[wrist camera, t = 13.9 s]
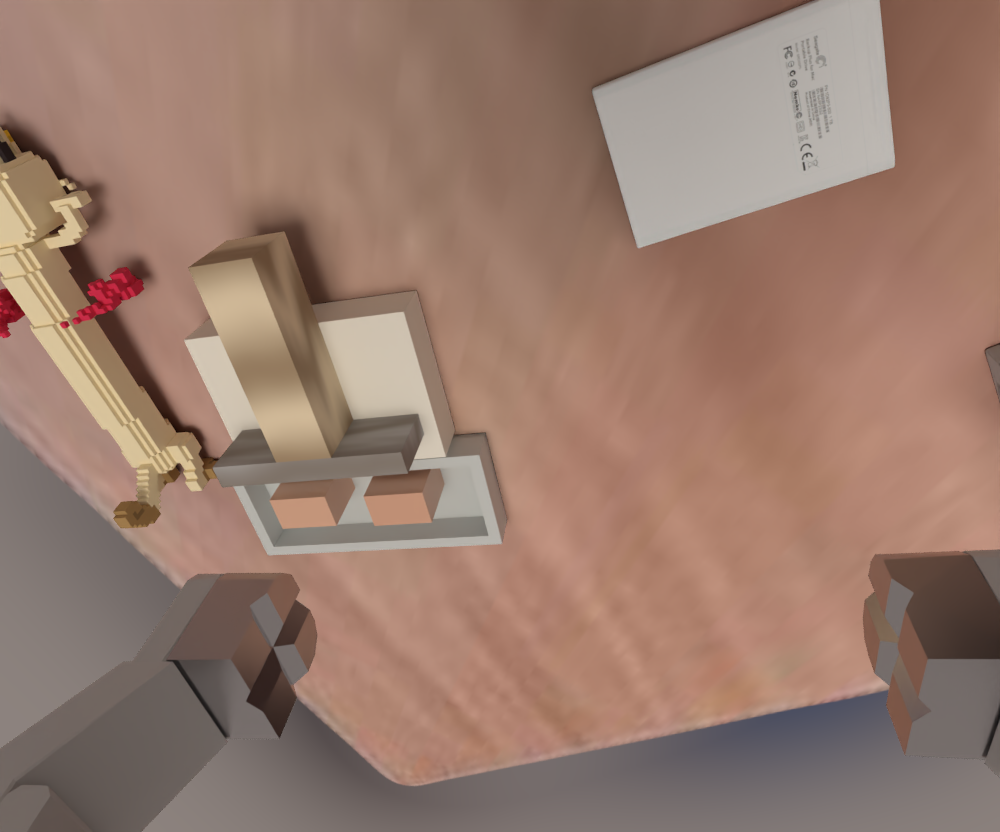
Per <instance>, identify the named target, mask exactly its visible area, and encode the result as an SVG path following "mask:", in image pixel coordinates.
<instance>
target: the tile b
mask: <svg viewBox="0 0 1000 832" xmlns="http://www.w3.org/2000/svg"><path fill="white" fill-rule="evenodd" d="M444 485H445V484H444V480H443V477H442V474H441V470H440V468H437V469H423V470H410V471H409V472H408V474H396V475H382V476H373V477H372V479H371V481H370V484H369V486H368V488H367V490H366V492H365V494H364V496H363V497H364V500H365V502H366V505H367V508H368V510H369V513H370V516H371V518H372V521H373V523H374V526H382V525H399V524H417V523H432V521H433V518H434V515H435V512H436V509H437V506H438V503H439V500H440V497H441V494H442V491H443V488H444Z"/></svg>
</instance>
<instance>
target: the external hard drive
mask: <svg viewBox="0 0 1000 832" xmlns="http://www.w3.org/2000/svg"><path fill="white" fill-rule="evenodd" d="M592 94H593V97H594V101H595V104H596V108H597V111H598V115H599V118H600V121H601V125H602V128H603V132H604V135H605V138H606V142H607V145H608V149H609V152H610V156H611V159H612V162H613V166H614V169H615V173H616V176H617V180H618V183H619V187H620V190H621V193H622V197H623V200H624V204H625V207H626V211H627V214H628V217H629V221H630V225H631V228H632V231H633V235H634V238H635V241H636V245H637V248H641V247H644V246H647V245H651V244H653V243H657V242H660V241H663V240H667V239H670V238H673V237H676V236H679V235H682V234H685V233H688V232H691V231H694V230H698V229H701V228H704V227H707V226H710V225H713V224H717V223H720V222H723V221H726V220H729V219H732V218H735V217H739V216H742V215H745V214H748V213H751V212H754V211H758V210H761V209H764V208H767V207H770V206H773V205H777V204H780V203H783V202H786V201H789V200H792V199H795V198H799V197H802V196H805V195H808V194H811V193H814V192H818V191H821V190H824V189H827V188H830V187H834V186H837V185H840V184H843V183H846V182H849V181H852V180H855V179H858V178H862V177H865V176H868V175H871V174H874V173H878V172H881V171H884V170H887V169H891V168H893V167H894V166H895V154H894V145H893V134H892V125H891V115H890V105H889V95H888V84H887V73H886V62H885V51H884V40H883V31H882V20H881V10H880V0H814V1H811V2H809V3H806V4H804V5H801V6H799V7H796V8H793V9H791V10H788V11H786V12H783V13H781V14H779V15H776V16H773V17H771V18H768V19H766V20H763V21H760V22H758V23H755V24H753V25H750V26H748V27H745V28H743V29H740V30H738V31H735V32H733V33H730V34H728V35H725V36H723V37H720V38H718V39H715V40H713V41H710V42H708V43H705V44H703V45H700V46H698V47H695V48H693V49H690V50H687V51H685V52H682V53H680V54H677V55H675V56H672V57H670V58H667V59H665V60H662V61H660V62H657V63H655V64H652V65H650V66H647V67H645V68H642V69H640V70H637V71H635V72H632V73H630V74H627V75H625V76H622V77H620V78H617V79H615V80H612V81H610V82H607V83H605V84H602V85H600V86H597V87H594V88H593V89H592Z"/></svg>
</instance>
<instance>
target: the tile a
mask: <svg viewBox="0 0 1000 832" xmlns="http://www.w3.org/2000/svg"><path fill="white" fill-rule="evenodd" d="M354 490H355V485H354V483H353V480H352V478H342V479H328V480H315V481H301V482H288V483H280V485H279V486H278V488H277V489H276V491H275V492H274V494H273V496H272V497H271V499H270V500H269V501H270V503H271V505H272V507H273V509H274V512H275V514H276V516H277V518H278V520H279V522H280V524H281V526H282V528H283V529H289V528H306V527H324V526H337V524H338V522H339V520H340V518H341V516H342V514H343V512H344V510H345V508H346V506H347V504H348V502H349V500H350V498H351V496H352V494H353V492H354Z"/></svg>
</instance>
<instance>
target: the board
mask: <svg viewBox="0 0 1000 832" xmlns="http://www.w3.org/2000/svg"><path fill="white" fill-rule="evenodd" d="M312 308H313V311H314V313H315V316H316V319H317V322H318V324H319V327H320V330H321V333H322V335H323V338H324V341H325V344H326V346H327V349H328V352H329V354H330V357H331V360H332V363H333V365H334V368H335V371H336V374H337V376H338V379H339V382H340V385H341V387H342V390H343V393H344V396H345V398H346V401H347V404H348V407H349V409H350V412H351V415H352V417H353V420H356V419H367V418H377V417H388V416H398V415H409V414H418V415H419V418H420V422H421V425H422V428H423V432H424V436H423V438H422V441H421V443H420V445H419V448H418V450H417V453H416V455H415V458H414V459H426V458H439V457H446V455H447V452H448V449H449V447H450V444H451V441H452V438H453V435H454V432H455V428H454V424H453V421H452V417H451V413H450V410H449V406H448V403H447V399H446V395H445V392H444V388H443V384H442V381H441V377H440V374H439V370H438V366H437V363H436V359H435V355H434V352H433V348H432V344H431V341H430V337H429V334H428V330H427V326H426V323H425V319H424V315H423V312H422V308H421V305H420V301H419V297H418V294H417V291H409V292H402V293H395V294H387V295H380V296H373V297H365V298H358V299H351V300H343V301H336V302H329V303H322V304H314V305H312ZM184 341H185V344H186V346H187V348H188V350H189V352H190V354H191V356H192V358H193V360H194V362H195V364H196V366H197V368H198V370H199V373H200V375H201V377H202V379H203V381H204V383H205V385H206V387H207V389H208V391H209V393H210V395H211V397H212V399H213V401H214V404H215V406H216V408H217V410H218V412H219V414H220V416H221V418H222V420H223V422H224V424H225V426H226V428H227V430H228V433H229V435H230V437H231V439H232V441H234V440H235V439H236V438H237V436H238V435H239V434H240V433H241V431H242V430H250V429H261V428H260V426H259V423H258V421H257V419H256V417H255V415H254V412H253V410H252V408H251V406H250V403H249V401H248V399H247V397H246V395H245V392H244V390H243V388H242V386H241V384H240V381H239V379H238V377H237V375H236V372H235V370H234V368H233V366H232V364H231V361H230V359H229V357H228V355H227V353H226V350H225V348H224V346H223V344H222V342H221V339H220V337H219V335H218V333H217V330H216V328H215V326H214V324H213V322H212V319H208V320H207V321H206V322H204V323H203V324H202V325H201V326H200V327H199V328H198V329H196V330H195V331H194V332H193V333H192V334H191V335H189V336H188V337H187V338H186V339H185V340H184Z"/></svg>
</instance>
